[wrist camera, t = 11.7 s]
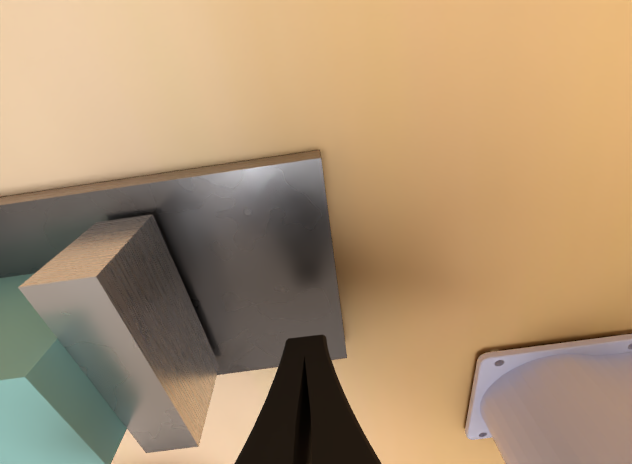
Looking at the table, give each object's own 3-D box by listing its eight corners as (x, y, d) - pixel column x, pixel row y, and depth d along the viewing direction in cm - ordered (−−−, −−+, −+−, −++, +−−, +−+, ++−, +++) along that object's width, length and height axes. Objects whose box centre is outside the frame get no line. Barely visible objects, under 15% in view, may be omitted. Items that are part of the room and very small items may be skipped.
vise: (319, 149, 11) (330, 200, 7) (344, 341, 16) (358, 432, 12) (-158, 220, 12) (-384, 303, 8) (7, 386, 17) (-82, 487, 13)
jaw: (152, 214, 11) (96, 276, 8) (219, 365, 15) (198, 446, 12) (96, 222, 11) (17, 287, 8) (177, 371, 15) (146, 452, 12)
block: (123, 260, 12) (24, 376, 8) (166, 341, 14) (109, 467, 10) (-53, 285, 12) (-246, 413, 8) (17, 361, 14) (-104, 494, 10)
